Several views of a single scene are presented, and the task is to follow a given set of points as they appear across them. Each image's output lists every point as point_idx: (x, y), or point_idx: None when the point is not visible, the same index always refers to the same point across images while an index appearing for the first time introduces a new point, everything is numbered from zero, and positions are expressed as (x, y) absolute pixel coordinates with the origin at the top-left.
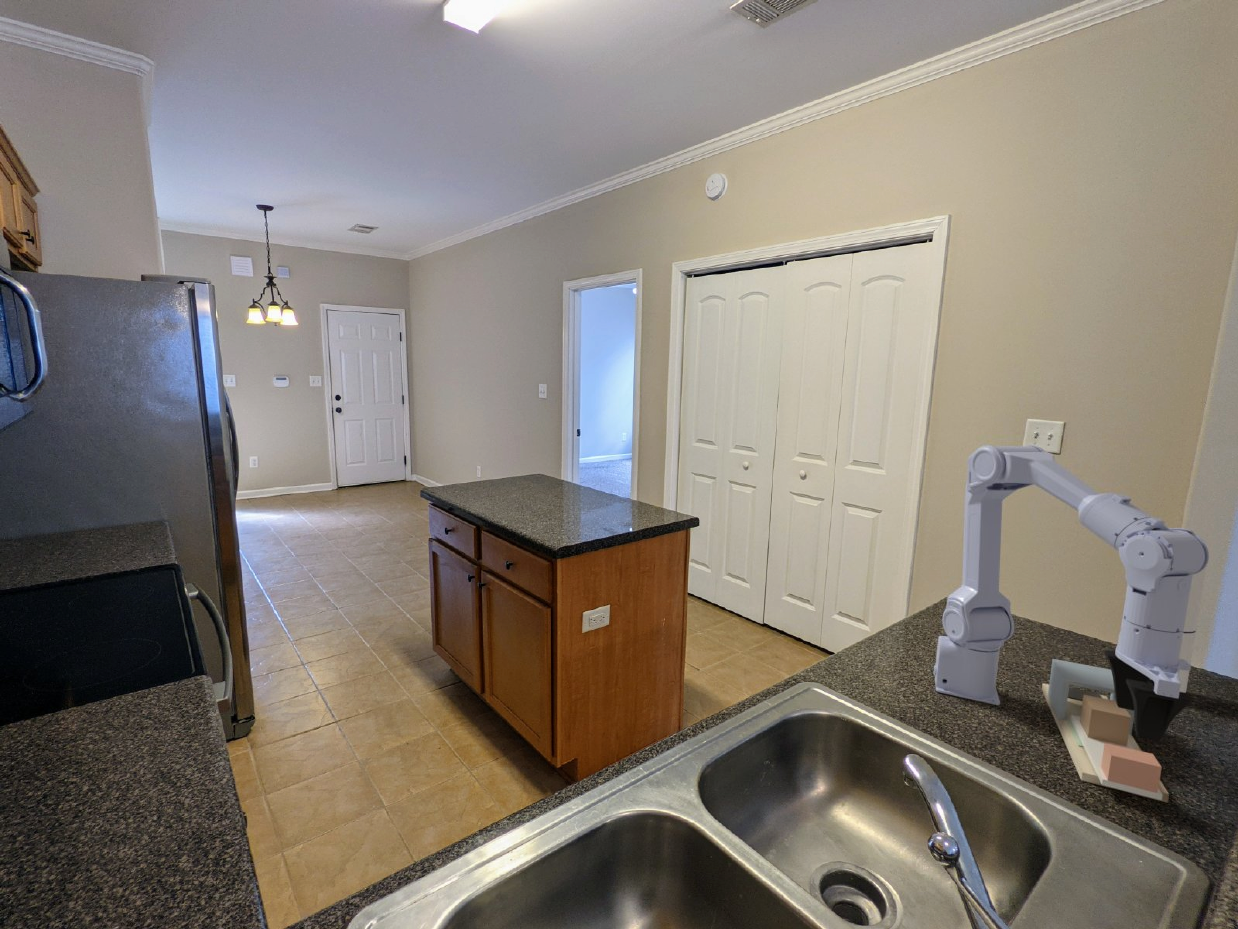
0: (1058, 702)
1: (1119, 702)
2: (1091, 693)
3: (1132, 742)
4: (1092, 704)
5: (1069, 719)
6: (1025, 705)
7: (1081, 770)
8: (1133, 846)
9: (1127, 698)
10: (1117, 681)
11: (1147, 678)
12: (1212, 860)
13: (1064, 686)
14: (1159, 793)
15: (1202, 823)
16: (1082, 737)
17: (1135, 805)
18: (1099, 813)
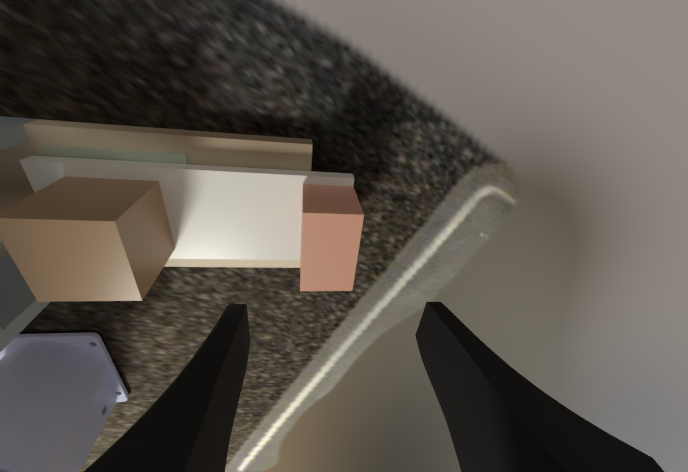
0: None
1: (247, 356)
2: None
3: (78, 137)
4: (102, 294)
5: None
6: None
7: (299, 267)
8: (454, 233)
9: (241, 361)
10: (227, 446)
11: (202, 443)
12: (464, 135)
13: (16, 330)
14: (353, 183)
15: (359, 99)
16: (184, 258)
17: None
18: (390, 254)
